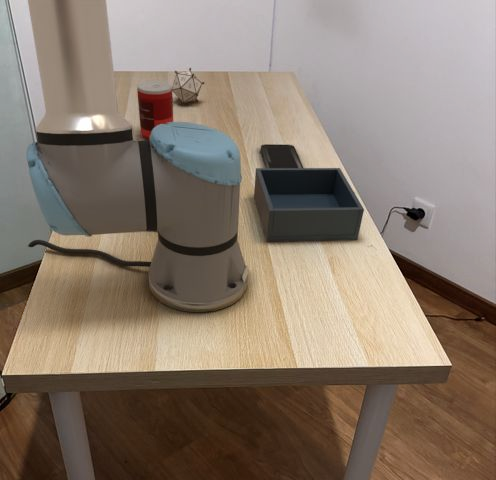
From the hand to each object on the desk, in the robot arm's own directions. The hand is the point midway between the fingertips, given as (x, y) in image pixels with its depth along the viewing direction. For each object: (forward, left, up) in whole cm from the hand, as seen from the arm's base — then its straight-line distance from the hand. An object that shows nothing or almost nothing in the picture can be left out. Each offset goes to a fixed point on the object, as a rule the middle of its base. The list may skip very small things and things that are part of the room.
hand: (90, 34), depth 110 cm
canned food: (+12, +1, -21) cm, 25 cm away
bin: (+39, -39, -21) cm, 59 cm away
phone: (+39, -15, -21) cm, 47 cm away
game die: (+20, +24, -21) cm, 38 cm away
